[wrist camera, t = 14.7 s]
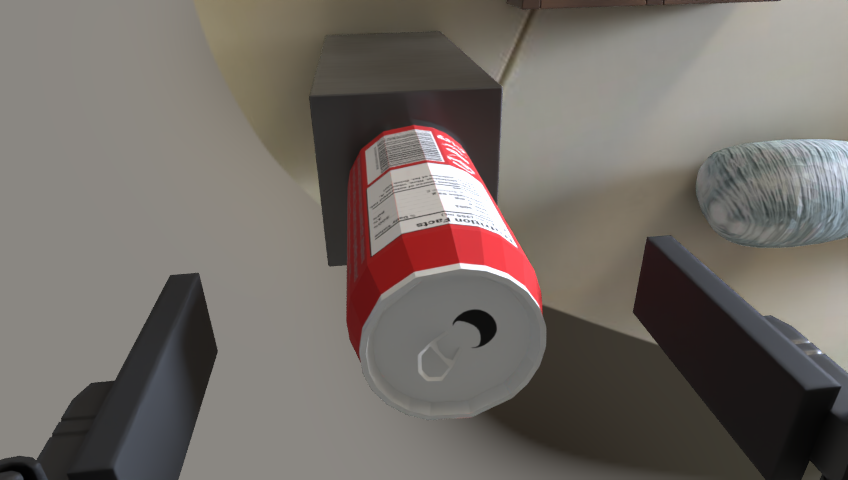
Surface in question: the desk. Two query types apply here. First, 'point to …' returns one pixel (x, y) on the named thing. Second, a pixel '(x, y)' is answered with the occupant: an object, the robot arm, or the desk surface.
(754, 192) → the yarn skein
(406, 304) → the soda can
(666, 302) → the robot arm
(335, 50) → the block
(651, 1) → the can rack
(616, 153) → the desk surface
